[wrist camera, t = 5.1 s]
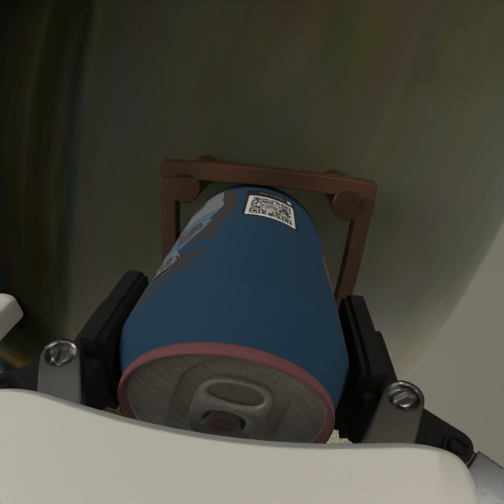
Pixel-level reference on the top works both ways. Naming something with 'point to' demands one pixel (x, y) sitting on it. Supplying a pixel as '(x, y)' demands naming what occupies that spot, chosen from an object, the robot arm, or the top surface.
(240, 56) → the top surface
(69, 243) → the top surface
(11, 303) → the eye dropper bottle
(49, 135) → the top surface
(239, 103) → the top surface
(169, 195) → the can rack
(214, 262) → the soda can
